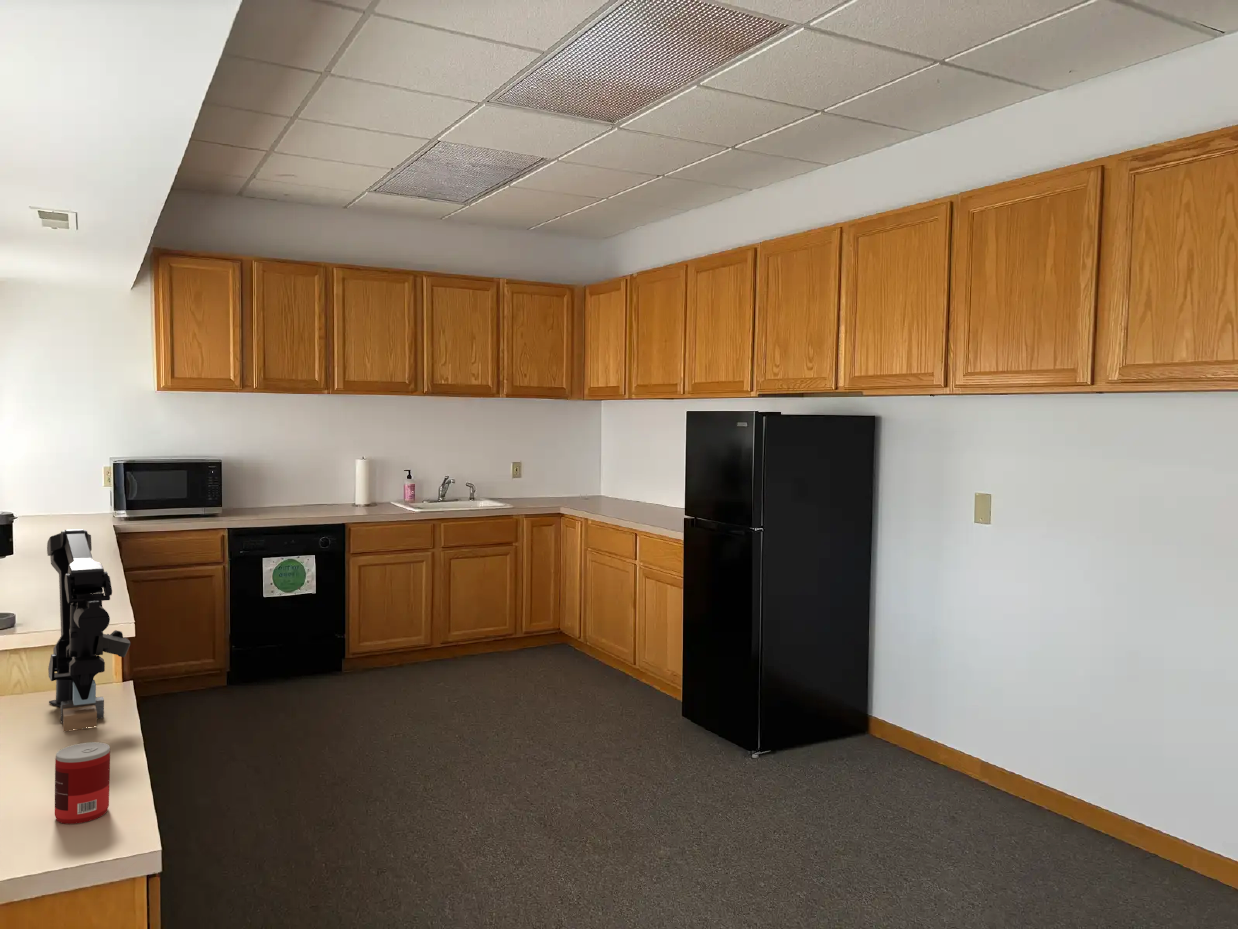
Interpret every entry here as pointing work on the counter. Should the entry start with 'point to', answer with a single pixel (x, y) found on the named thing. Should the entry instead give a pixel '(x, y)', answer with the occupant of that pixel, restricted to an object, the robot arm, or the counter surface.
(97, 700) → the block
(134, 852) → the counter surface
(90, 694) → the block
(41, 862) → the counter surface
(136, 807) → the counter surface
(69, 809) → the canned food
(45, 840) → the counter surface
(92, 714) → the brown square block
